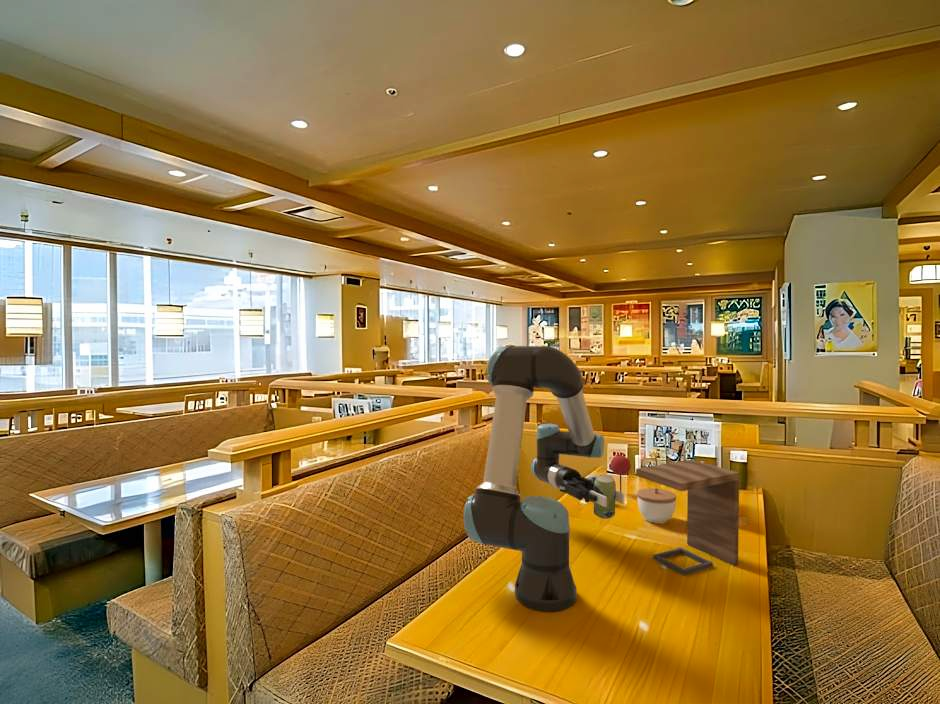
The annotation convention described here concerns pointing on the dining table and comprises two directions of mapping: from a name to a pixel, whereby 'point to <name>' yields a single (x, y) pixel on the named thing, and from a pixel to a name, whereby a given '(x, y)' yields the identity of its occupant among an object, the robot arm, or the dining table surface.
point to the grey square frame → (689, 570)
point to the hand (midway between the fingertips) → (614, 500)
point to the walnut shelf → (705, 504)
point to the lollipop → (620, 466)
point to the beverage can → (607, 488)
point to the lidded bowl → (656, 504)
